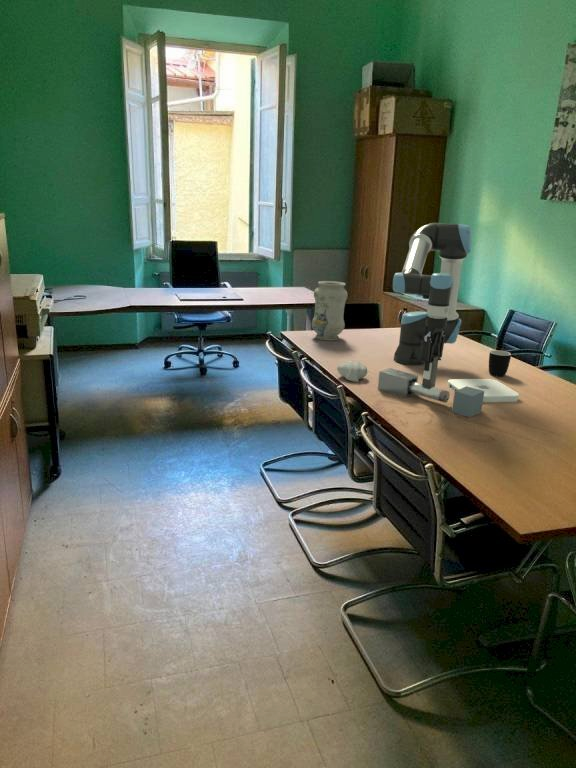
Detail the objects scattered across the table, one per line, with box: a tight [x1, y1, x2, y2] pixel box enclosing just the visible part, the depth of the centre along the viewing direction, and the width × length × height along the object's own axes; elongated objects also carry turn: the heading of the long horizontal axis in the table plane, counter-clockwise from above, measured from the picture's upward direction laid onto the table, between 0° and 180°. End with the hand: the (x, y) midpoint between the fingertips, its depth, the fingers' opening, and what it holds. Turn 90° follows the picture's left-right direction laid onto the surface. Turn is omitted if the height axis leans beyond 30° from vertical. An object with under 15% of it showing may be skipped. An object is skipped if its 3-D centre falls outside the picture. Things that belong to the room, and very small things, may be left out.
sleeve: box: [377, 368, 419, 398], centre depth 227 cm, size 13×8×7 cm, turn 47°
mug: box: [488, 349, 512, 378], centre depth 257 cm, size 12×9×10 cm
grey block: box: [451, 386, 484, 418], centre depth 208 cm, size 7×9×8 cm
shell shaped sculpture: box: [336, 360, 368, 383], centre depth 242 cm, size 13×13×6 cm
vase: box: [311, 280, 348, 342], centre depth 306 cm, size 18×18×30 cm
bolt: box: [408, 355, 451, 404], centre depth 220 cm, size 26×4×16 cm, turn 47°
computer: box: [447, 378, 520, 403], centre depth 231 cm, size 22×22×3 cm
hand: (429, 377), depth 217 cm, fingers closed on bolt, 3 cm apart
